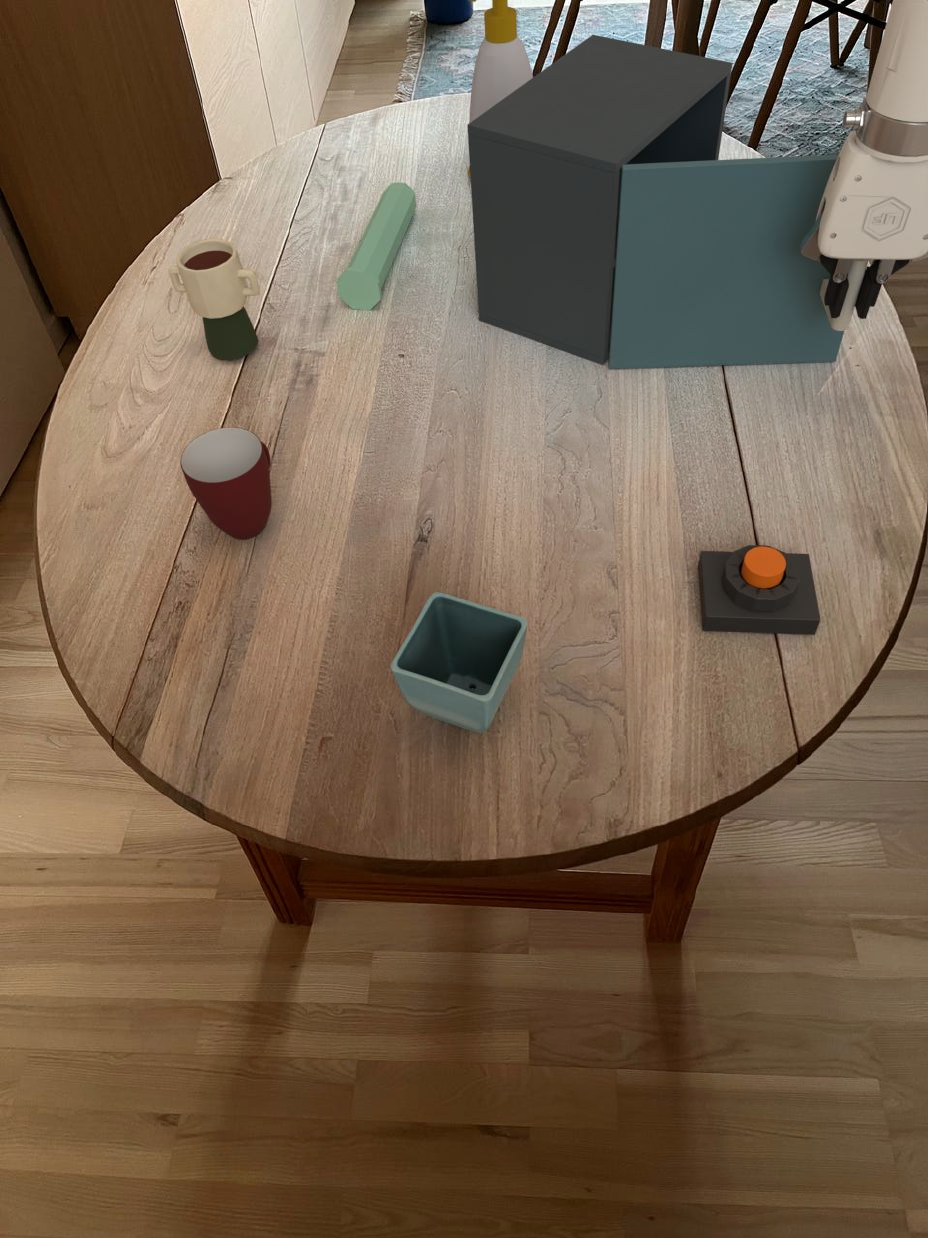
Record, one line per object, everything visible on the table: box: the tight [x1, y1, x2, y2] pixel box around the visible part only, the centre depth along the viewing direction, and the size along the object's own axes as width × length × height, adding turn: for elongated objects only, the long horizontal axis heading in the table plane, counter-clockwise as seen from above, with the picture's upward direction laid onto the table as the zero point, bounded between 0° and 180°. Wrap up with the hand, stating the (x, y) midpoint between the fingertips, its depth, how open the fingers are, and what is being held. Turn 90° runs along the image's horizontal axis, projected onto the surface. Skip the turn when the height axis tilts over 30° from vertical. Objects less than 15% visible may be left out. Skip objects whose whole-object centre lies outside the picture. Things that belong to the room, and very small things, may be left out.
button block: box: [697, 544, 821, 636], centre depth 87 cm, size 10×8×4 cm
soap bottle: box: [467, 0, 534, 180], centre depth 131 cm, size 11×12×26 cm
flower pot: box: [389, 591, 529, 734], centre depth 80 cm, size 9×9×9 cm
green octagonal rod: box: [335, 182, 417, 311], centre depth 127 cm, size 6×6×25 cm
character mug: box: [168, 237, 261, 362], centre depth 113 cm, size 11×7×13 cm, turn 79°
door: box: [608, 153, 870, 370], centre depth 99 cm, size 8×26×24 cm, turn 88°
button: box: [741, 547, 786, 589], centre depth 85 cm, size 4×4×2 cm
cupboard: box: [466, 34, 733, 366], centre depth 112 cm, size 18×26×24 cm
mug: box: [179, 426, 273, 541], centre depth 96 cm, size 11×8×10 cm
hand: (846, 309), depth 96 cm, fingers closed, pressing on door
